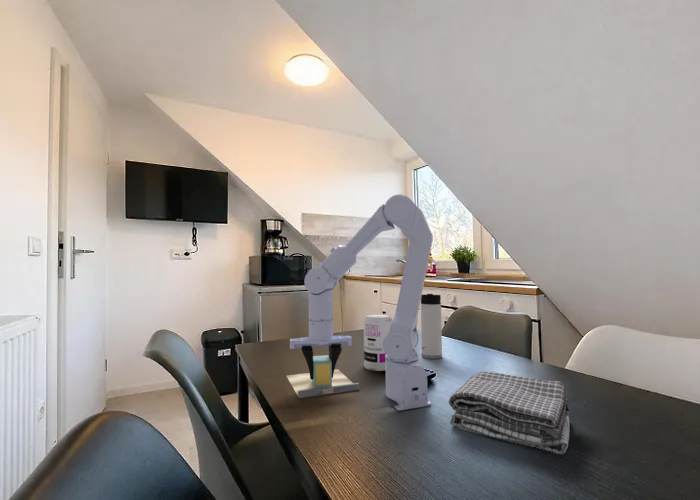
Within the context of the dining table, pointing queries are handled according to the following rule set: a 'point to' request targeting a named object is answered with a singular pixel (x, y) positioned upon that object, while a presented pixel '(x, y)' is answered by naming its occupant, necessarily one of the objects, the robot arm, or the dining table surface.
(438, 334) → the travel mug
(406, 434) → the dining table surface
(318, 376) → the carton
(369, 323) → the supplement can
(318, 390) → the shelf board
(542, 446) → the towel
